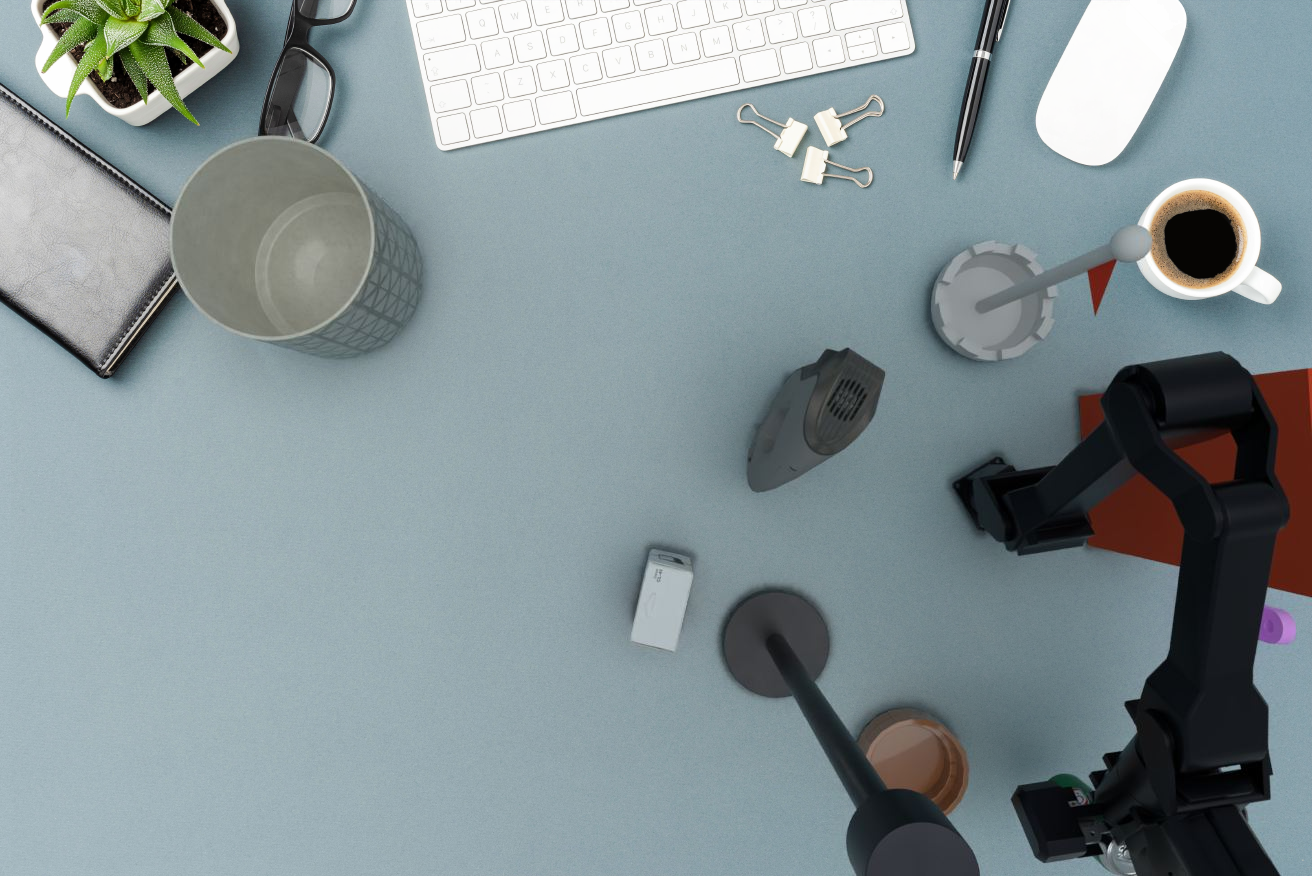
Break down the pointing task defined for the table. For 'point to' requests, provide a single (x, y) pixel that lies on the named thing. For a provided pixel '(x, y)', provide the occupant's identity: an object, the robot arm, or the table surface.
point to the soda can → (1114, 856)
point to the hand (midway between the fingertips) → (1098, 839)
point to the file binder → (1147, 518)
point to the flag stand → (1017, 293)
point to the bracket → (1277, 626)
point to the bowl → (917, 756)
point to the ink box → (662, 600)
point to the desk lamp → (840, 741)
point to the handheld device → (814, 417)
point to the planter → (293, 250)
